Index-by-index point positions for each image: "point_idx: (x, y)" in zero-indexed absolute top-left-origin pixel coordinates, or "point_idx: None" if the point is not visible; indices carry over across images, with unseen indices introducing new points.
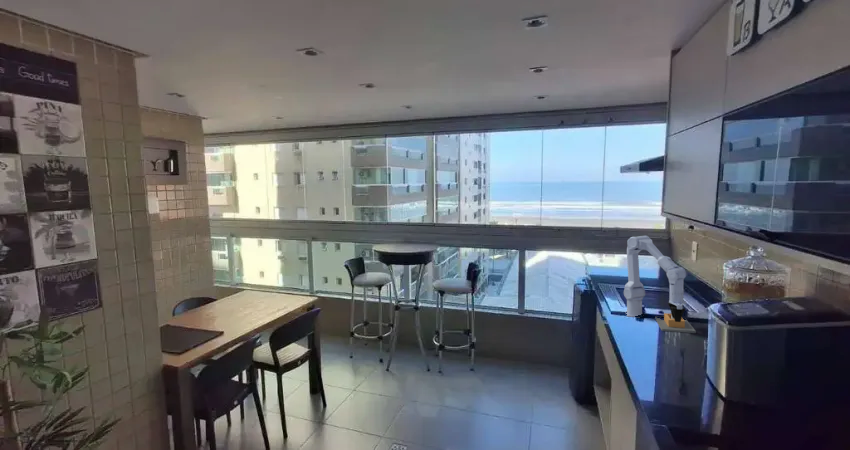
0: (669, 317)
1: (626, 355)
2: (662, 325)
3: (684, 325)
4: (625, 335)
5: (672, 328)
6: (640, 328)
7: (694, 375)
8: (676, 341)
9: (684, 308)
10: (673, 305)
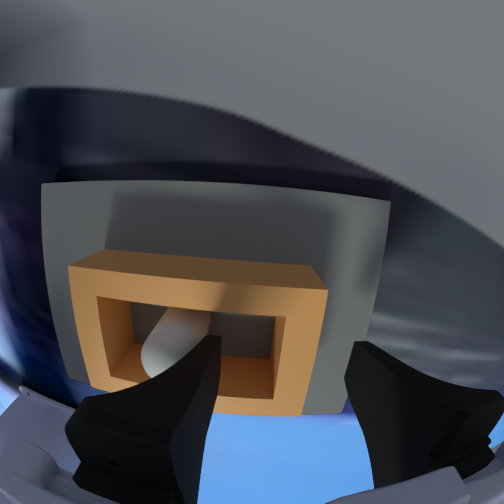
0: (218, 396)
1: (493, 445)
2: None
3: (316, 275)
4: None
5: (333, 359)
6: (290, 466)
7: None
8: (475, 348)
9: (482, 412)
10: (189, 488)
